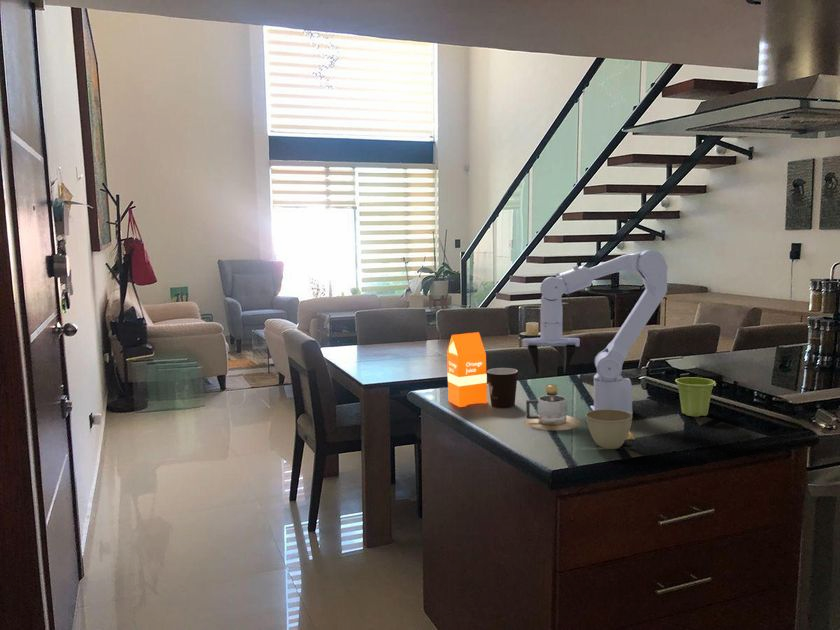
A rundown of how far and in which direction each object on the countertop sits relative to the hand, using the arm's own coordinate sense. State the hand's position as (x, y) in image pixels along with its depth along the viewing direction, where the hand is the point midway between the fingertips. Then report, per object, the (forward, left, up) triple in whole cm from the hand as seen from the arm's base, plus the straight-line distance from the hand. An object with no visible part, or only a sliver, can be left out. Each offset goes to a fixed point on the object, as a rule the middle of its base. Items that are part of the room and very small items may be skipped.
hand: (551, 372), depth 176 cm
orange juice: (+22, -11, -11) cm, 27 cm away
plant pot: (-36, +6, -11) cm, 38 cm away
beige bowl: (-9, +30, -11) cm, 33 cm away
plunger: (+1, +12, -7) cm, 14 cm away
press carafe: (+3, +12, -10) cm, 16 cm away
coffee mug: (+12, -7, -11) cm, 18 cm away
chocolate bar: (-15, +21, -11) cm, 28 cm away
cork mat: (+1, +12, -10) cm, 16 cm away
